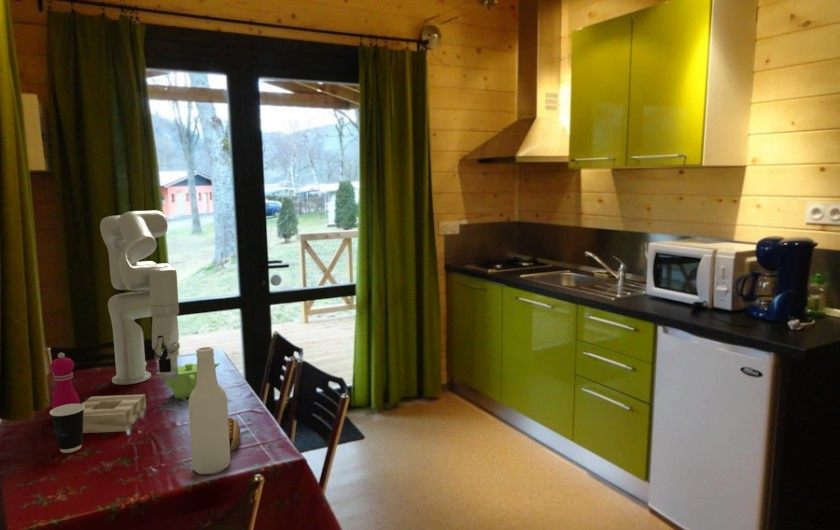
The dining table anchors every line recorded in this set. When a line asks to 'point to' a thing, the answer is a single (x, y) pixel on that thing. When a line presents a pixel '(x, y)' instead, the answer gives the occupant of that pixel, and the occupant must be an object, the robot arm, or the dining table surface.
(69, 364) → the pepper mill
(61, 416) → the dixie cup
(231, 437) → the food
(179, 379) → the teapot
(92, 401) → the block
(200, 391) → the alcohol
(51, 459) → the dining table surface
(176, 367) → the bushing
